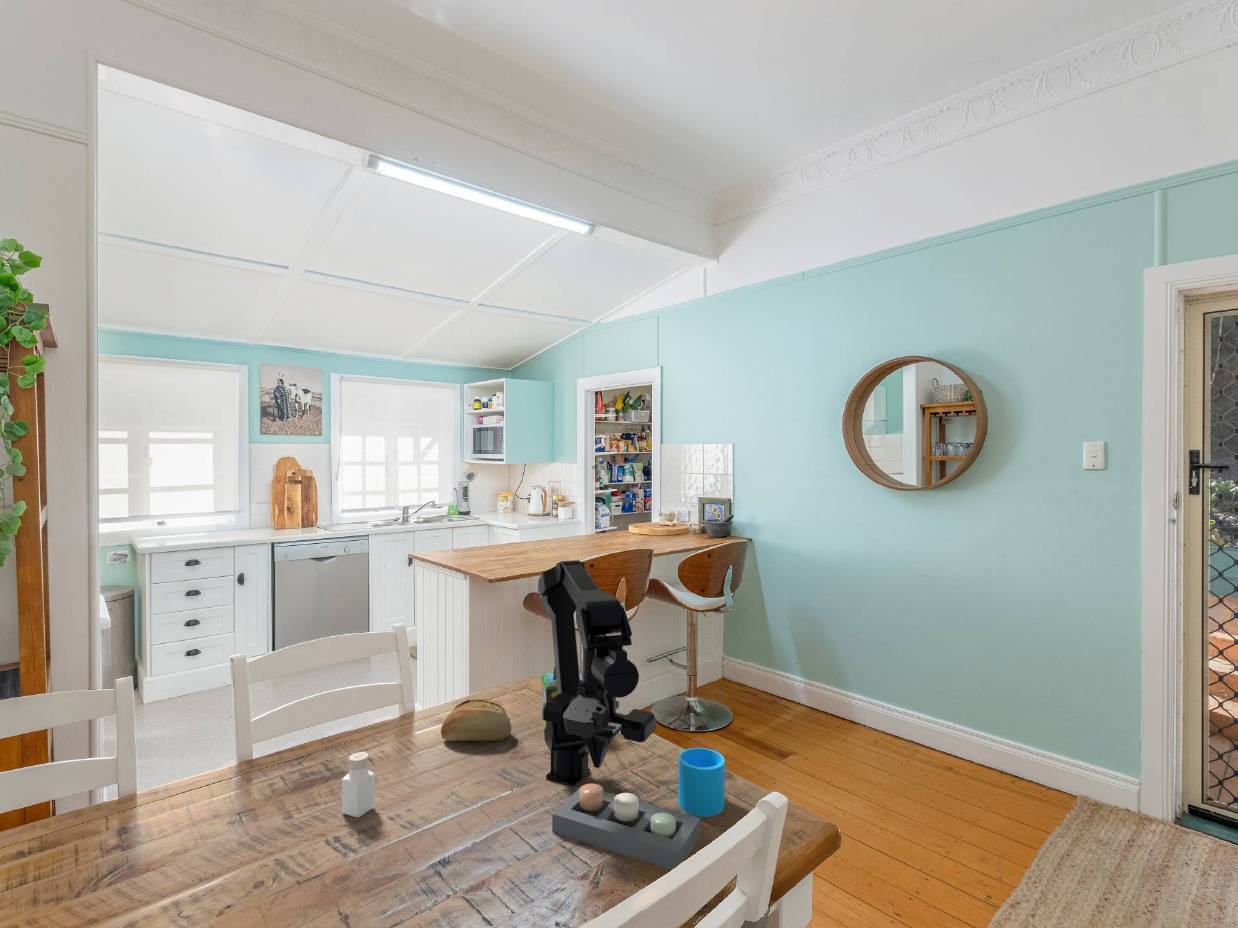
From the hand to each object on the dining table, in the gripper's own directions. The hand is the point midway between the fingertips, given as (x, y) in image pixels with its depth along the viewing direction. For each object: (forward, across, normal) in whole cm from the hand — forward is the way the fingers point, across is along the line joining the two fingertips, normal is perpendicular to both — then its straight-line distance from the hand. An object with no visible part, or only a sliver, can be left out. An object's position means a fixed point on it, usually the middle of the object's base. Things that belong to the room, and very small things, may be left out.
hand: (597, 766), depth 105 cm
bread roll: (+11, -38, +17) cm, 43 cm away
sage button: (+8, +12, -1) cm, 14 cm away
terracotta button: (+6, -1, 0) cm, 6 cm away
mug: (+10, +13, +15) cm, 22 cm away
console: (+10, +6, 0) cm, 11 cm away
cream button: (+6, +6, 0) cm, 8 cm away
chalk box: (+11, -24, +30) cm, 40 cm away
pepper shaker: (+10, -39, -14) cm, 43 cm away
